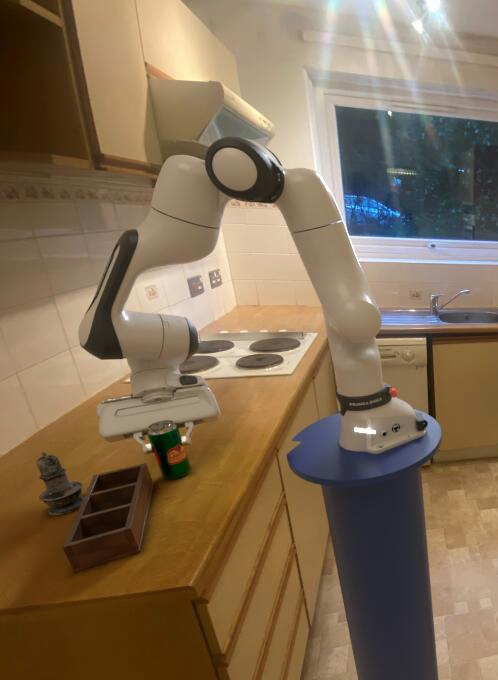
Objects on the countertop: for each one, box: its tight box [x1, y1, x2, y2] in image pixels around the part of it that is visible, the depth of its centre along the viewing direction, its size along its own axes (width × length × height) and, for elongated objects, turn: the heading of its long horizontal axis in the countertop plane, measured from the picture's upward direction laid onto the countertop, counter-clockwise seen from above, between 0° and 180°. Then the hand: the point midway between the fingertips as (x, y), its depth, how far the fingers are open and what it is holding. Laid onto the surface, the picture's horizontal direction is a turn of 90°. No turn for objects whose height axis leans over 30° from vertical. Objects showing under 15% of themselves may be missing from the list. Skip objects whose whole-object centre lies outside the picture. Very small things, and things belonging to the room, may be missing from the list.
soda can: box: [146, 420, 192, 481], centre depth 91 cm, size 5×5×12 cm
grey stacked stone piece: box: [35, 451, 84, 516], centre depth 81 cm, size 6×6×12 cm
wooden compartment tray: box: [62, 462, 155, 573], centre depth 78 cm, size 8×23×5 cm, turn 33°
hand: (168, 448), depth 90 cm, fingers closed on soda can, 5 cm apart
